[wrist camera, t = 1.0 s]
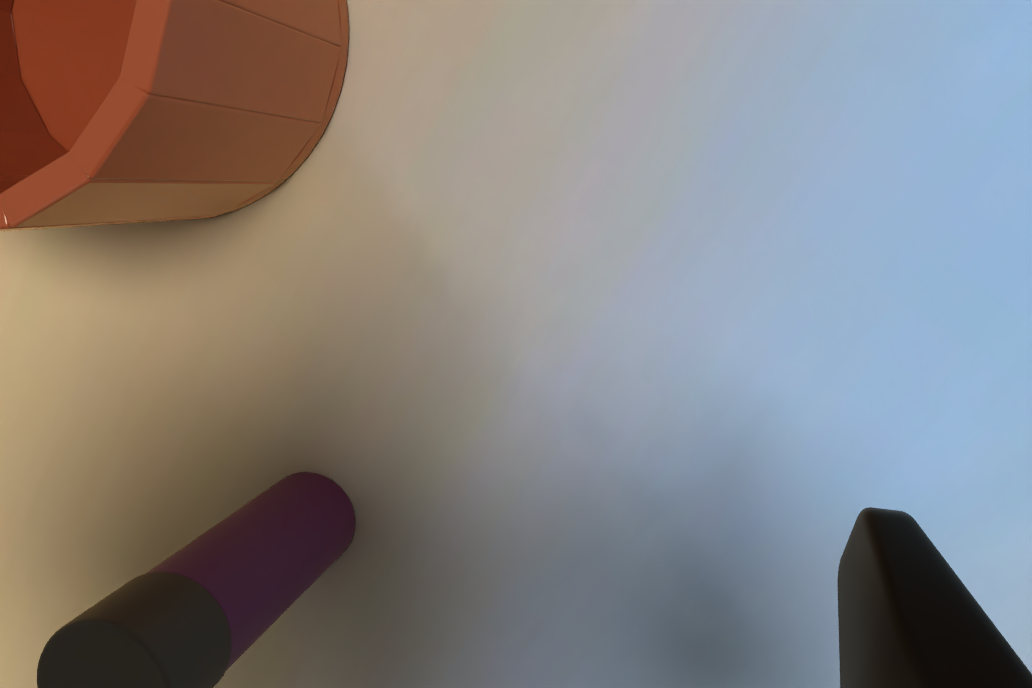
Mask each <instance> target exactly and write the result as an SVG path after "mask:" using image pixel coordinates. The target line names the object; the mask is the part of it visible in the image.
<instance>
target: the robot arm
mask: <svg viewBox="0 0 1032 688" xmlns="http://www.w3.org/2000/svg"><path fill="white" fill-rule="evenodd" d="M838 616H839V654H840V688H1032V674H1031V673H1030V671H1029V670H1028V669H1027V667H1026V666H1025V665H1024V663H1023V662H1022V661H1021V659H1020V658H1019V657H1018V655H1017V654H1016V653H1015V652H1014V650H1013V649H1012V648H1011V646H1010V645H1009V644H1008V642H1007V641H1006V640H1005V638H1004V637H1003V636H1002V634H1001V633H1000V632H999V630H998V629H997V628H996V626H995V625H994V624H993V622H992V621H991V620H990V619H989V617H988V616H987V615H986V613H985V612H984V611H983V609H982V608H981V607H980V605H979V604H978V603H977V601H976V600H975V599H974V597H973V596H972V595H971V593H970V592H969V591H968V589H967V588H966V587H965V586H964V584H963V583H962V582H961V580H960V579H959V578H958V576H957V575H956V574H955V572H954V571H953V570H952V568H951V567H950V566H949V564H948V563H947V562H946V560H945V559H944V558H943V557H942V555H941V554H940V553H939V551H938V550H937V549H936V547H935V546H934V545H933V543H932V542H931V541H930V539H929V538H928V537H927V535H926V534H925V533H924V531H923V530H922V529H921V527H920V526H919V525H918V524H917V522H916V521H915V520H914V519H913V517H911V516H910V515H909V514H907V513H905V512H902V511H896V510H887V509H879V508H871V507H870V508H865V509H863V510H862V511H861V512H860V514H859V515H858V517H857V520H856V522H855V525H854V527H853V530H852V532H851V535H850V537H849V540H848V542H847V545H846V547H845V550H844V552H843V555H842V557H841V560H840V564H839V570H838Z"/></svg>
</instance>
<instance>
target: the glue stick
mask: <svg viewBox="0 0 1032 688" xmlns="http://www.w3.org/2000/svg"><path fill="white" fill-rule="evenodd" d="M354 531H355V516H354V511H353V507H352V505H351V502H350V500H349V498H348V497H347V495H346V494H345V492H344V491H343V490H342V489H341V488H340V487H339V486H338V485H337V484H336V483H335V482H333V481H332V480H330V479H329V478H327V477H324V476H322V475H319V474H315V473H308V472H303V473H296V474H292V475H290V476H287V477H286V478H284V479H282V480H281V481H279V482H278V483H276V484H275V485H273V486H272V487H271V488H269V489H268V490H266V491H265V492H263V493H262V494H260V495H259V496H257V497H256V498H255V499H253V500H252V501H250V502H249V503H247V504H246V505H244V506H243V507H241V508H240V509H239V510H237V511H236V512H234V513H233V514H231V515H230V516H228V517H227V518H225V519H224V520H223V521H221V522H220V523H218V524H217V525H215V526H214V527H212V528H211V529H209V530H208V531H207V532H205V533H204V534H202V535H201V536H199V537H198V538H196V539H195V540H193V541H192V542H191V543H189V544H188V545H186V546H185V547H183V548H182V549H180V550H179V551H177V552H176V553H175V554H173V555H172V556H170V557H169V558H167V559H166V560H164V561H163V562H161V563H160V564H159V565H157V566H156V567H154V568H153V569H151V570H150V571H148V572H147V573H145V574H143V575H141V576H138V577H136V578H134V579H132V580H131V581H129V582H128V583H126V584H125V585H123V586H122V587H120V588H119V589H117V590H116V591H114V592H113V593H111V594H110V595H109V596H107V597H106V598H104V599H103V600H101V601H100V602H98V603H97V604H95V605H94V606H92V607H91V608H89V609H88V610H87V611H85V612H84V613H82V614H81V615H79V616H78V617H76V618H75V619H73V620H72V621H70V622H69V623H67V624H66V625H65V626H63V627H62V628H60V629H59V630H58V631H57V632H55V634H54V635H53V636H52V637H51V638H50V639H49V641H48V642H47V644H46V645H45V647H44V650H43V652H42V654H41V656H40V660H39V663H38V669H37V686H38V688H213V687H214V686H215V685H216V684H217V683H218V682H219V680H220V679H221V678H222V676H223V675H224V673H225V671H226V670H227V669H228V668H229V667H230V666H231V665H232V664H233V663H234V662H235V661H236V660H237V659H238V658H239V657H240V656H241V655H242V654H243V653H244V652H245V651H246V650H247V649H248V648H249V647H250V646H251V645H252V644H253V643H254V642H255V641H256V640H257V639H258V638H259V637H260V636H261V635H262V634H263V633H264V632H265V631H266V630H267V629H268V628H269V627H270V626H271V625H272V624H273V623H274V622H275V621H276V620H277V619H278V618H279V617H280V616H281V615H282V614H283V613H284V612H285V611H286V610H287V609H288V608H289V607H290V606H291V605H292V604H293V603H294V602H295V601H296V600H297V599H298V598H299V597H300V596H301V595H302V594H303V593H304V592H305V591H306V590H307V589H308V588H309V587H310V586H311V585H312V584H313V583H314V582H315V580H316V579H317V578H318V577H319V576H320V575H321V574H322V573H323V572H324V571H325V570H326V569H327V568H328V567H329V566H330V565H331V564H332V563H333V562H334V561H335V560H336V559H337V558H338V557H339V556H340V555H341V554H342V553H343V552H344V551H345V550H346V549H347V548H348V546H349V544H350V543H351V541H352V538H353V535H354Z"/></svg>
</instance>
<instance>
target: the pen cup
mask: <svg viewBox="0 0 1032 688" xmlns="http://www.w3.org/2000/svg"><path fill="white" fill-rule="evenodd" d="M348 40H349V30H348V9H347V2H346V0H0V231H12V230H28V229H45V228H61V227H78V226H95V225H111V224H128V223H144V222H159V221H172V220H187V219H199V218H212V217H215V216H219V215H221V214H224V213H228V212H231V211H234V210H238V209H240V208H242V207H244V206H246V205H248V204H250V203H253V202H255V201H257V200H259V199H260V198H262V197H263V196H265V195H266V194H268V193H269V192H271V191H272V190H274V189H275V188H277V187H278V186H279V185H280V184H281V183H282V182H284V181H285V180H286V179H287V178H288V177H289V176H290V175H292V174H293V173H294V172H295V171H296V169H297V168H298V167H299V166H300V165H301V164H302V162H303V161H304V160H305V159H306V158H307V157H308V156H309V154H310V153H311V151H312V150H313V148H314V147H315V145H316V144H317V142H318V141H319V139H320V138H321V136H322V134H323V132H324V130H325V128H326V126H327V124H328V122H329V120H330V118H331V116H332V114H333V112H334V109H335V106H336V103H337V100H338V97H339V94H340V91H341V88H342V83H343V78H344V73H345V68H346V64H347V52H348Z"/></svg>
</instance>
